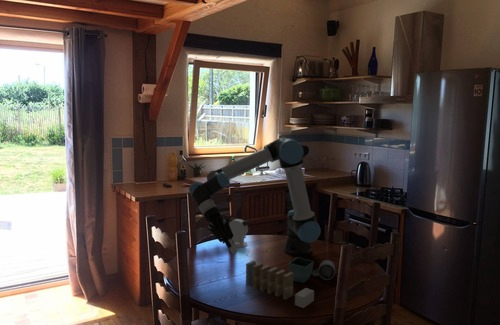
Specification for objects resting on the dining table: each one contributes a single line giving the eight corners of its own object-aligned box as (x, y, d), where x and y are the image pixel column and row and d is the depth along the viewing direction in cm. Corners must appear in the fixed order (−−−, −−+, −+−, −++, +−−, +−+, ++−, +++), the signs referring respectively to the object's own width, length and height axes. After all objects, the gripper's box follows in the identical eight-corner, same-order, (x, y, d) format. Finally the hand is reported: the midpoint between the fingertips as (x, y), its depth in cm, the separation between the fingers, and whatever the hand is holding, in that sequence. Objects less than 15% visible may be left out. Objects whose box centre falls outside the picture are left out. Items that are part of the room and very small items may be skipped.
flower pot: (305, 286, 182) (306, 267, 181) (288, 281, 187) (288, 262, 185) (313, 279, 189) (314, 260, 188) (296, 275, 194) (296, 257, 193)
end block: (294, 304, 165) (295, 294, 164) (305, 298, 171) (305, 287, 170) (303, 308, 162) (303, 297, 162) (313, 300, 168) (314, 290, 168)
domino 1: (245, 285, 183) (246, 263, 181) (252, 281, 186) (253, 260, 185) (248, 286, 182) (248, 264, 180) (255, 282, 185) (255, 261, 184)
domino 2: (252, 287, 180) (253, 265, 179) (259, 283, 184) (260, 262, 183) (255, 288, 179) (256, 266, 178) (262, 284, 183) (262, 263, 182)
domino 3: (260, 290, 178) (260, 268, 176) (266, 286, 181) (267, 264, 180) (263, 291, 177) (263, 269, 175) (269, 287, 180) (270, 265, 179)
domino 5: (275, 295, 173) (275, 273, 171) (281, 291, 176) (282, 269, 175) (278, 296, 172) (278, 274, 170) (284, 292, 175) (285, 270, 174)
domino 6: (282, 298, 170) (283, 275, 169) (289, 294, 174) (290, 272, 173) (286, 299, 169) (286, 276, 168) (292, 295, 173) (293, 273, 172)
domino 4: (267, 292, 175) (267, 270, 174) (274, 289, 179) (274, 267, 178) (270, 294, 174) (270, 271, 173) (277, 290, 178) (277, 268, 177)
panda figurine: (252, 243, 238) (252, 218, 236) (241, 249, 228) (241, 223, 226) (234, 240, 244) (234, 215, 242) (223, 245, 234) (224, 220, 232)
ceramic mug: (334, 274, 196) (335, 258, 195) (334, 280, 188) (335, 264, 187) (312, 272, 198) (312, 257, 197) (311, 279, 190) (311, 263, 189)
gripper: (215, 212, 203) (240, 253, 194) (196, 217, 193) (221, 260, 184) (223, 204, 199) (249, 244, 190) (204, 208, 189) (230, 252, 180)
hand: (235, 252), depth 187 cm, fingers closed
